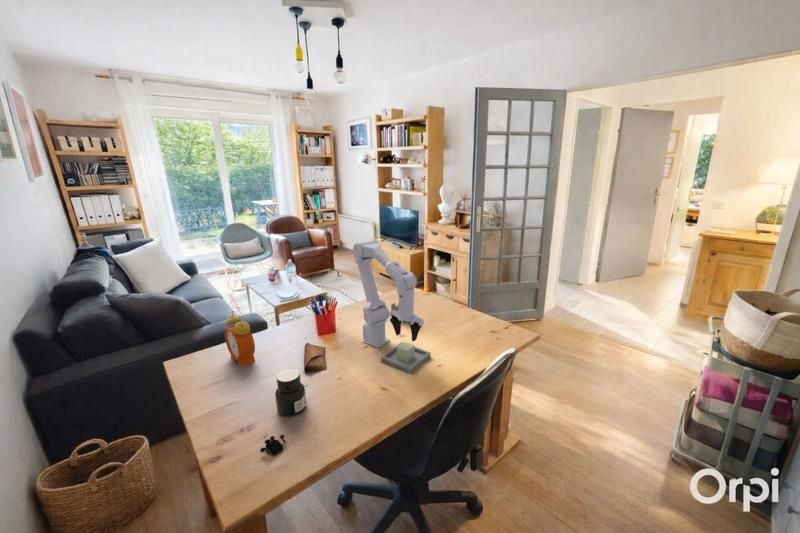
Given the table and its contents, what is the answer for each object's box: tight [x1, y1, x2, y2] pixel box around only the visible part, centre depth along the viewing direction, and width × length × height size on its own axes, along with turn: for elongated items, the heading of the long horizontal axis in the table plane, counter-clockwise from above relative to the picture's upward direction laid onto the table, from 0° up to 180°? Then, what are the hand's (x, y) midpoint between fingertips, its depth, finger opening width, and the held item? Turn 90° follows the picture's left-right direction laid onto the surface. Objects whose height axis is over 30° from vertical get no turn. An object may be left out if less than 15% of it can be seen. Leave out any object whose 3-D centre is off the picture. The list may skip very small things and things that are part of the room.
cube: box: [396, 341, 416, 362], centre depth 134 cm, size 5×5×5 cm
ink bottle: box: [274, 368, 307, 418], centre depth 107 cm, size 10×9×12 cm
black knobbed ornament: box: [259, 434, 287, 456], centre depth 93 cm, size 7×2×5 cm
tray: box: [380, 341, 431, 374], centre depth 135 cm, size 14×14×2 cm
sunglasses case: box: [303, 342, 328, 374], centre depth 135 cm, size 18×7×7 cm, turn 15°
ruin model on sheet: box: [390, 302, 412, 326], centre depth 167 cm, size 11×3×10 cm, turn 44°
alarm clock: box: [224, 310, 256, 368], centre depth 132 cm, size 13×6×20 cm, turn 47°
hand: (406, 337), depth 133 cm, fingers open, 7 cm apart
